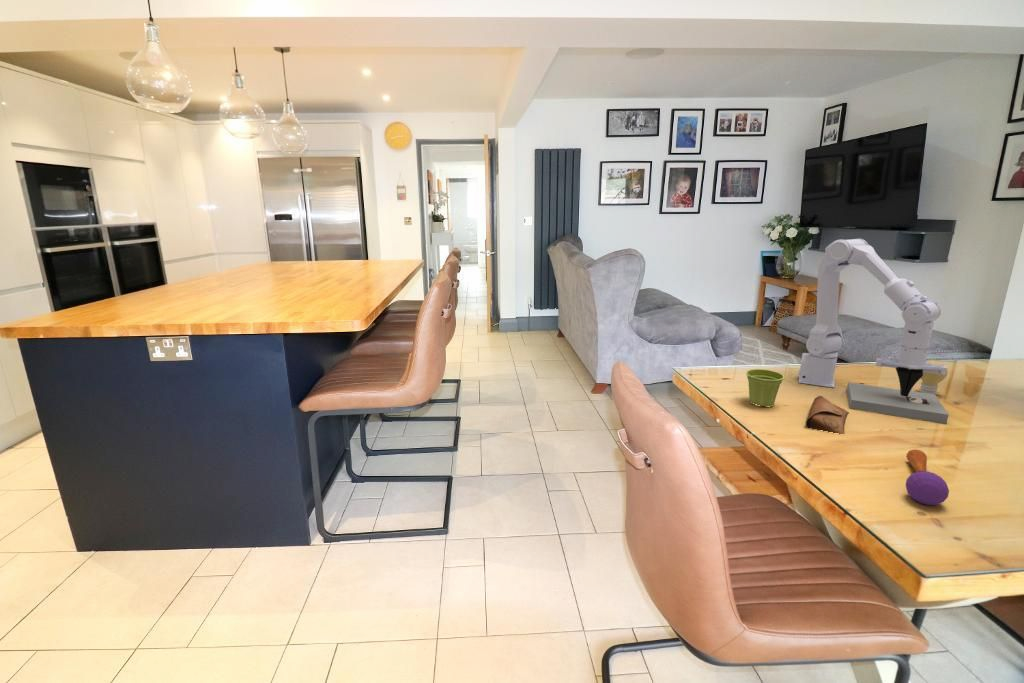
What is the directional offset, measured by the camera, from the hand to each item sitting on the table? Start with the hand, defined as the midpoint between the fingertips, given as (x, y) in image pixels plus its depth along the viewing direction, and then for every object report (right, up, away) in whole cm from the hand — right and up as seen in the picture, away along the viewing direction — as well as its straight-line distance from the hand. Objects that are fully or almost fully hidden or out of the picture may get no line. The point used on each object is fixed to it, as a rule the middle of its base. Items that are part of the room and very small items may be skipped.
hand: (903, 395), depth 130 cm
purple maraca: (-26, -14, -36) cm, 47 cm away
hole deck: (-2, -3, +2) cm, 4 cm away
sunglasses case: (-25, -6, -6) cm, 26 cm away
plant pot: (-37, -3, +4) cm, 37 cm away
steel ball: (+2, -2, -1) cm, 3 cm away
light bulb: (+15, -1, +10) cm, 18 cm away
